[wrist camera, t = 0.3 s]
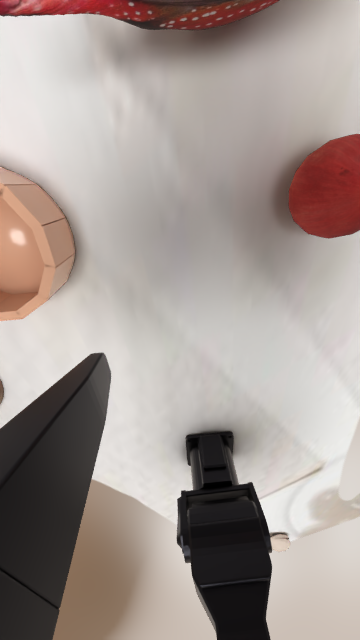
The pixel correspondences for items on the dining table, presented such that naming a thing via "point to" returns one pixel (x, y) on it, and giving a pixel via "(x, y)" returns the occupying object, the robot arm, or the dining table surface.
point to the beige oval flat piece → (280, 542)
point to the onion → (328, 189)
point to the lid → (1, 392)
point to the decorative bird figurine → (145, 11)
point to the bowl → (30, 246)
